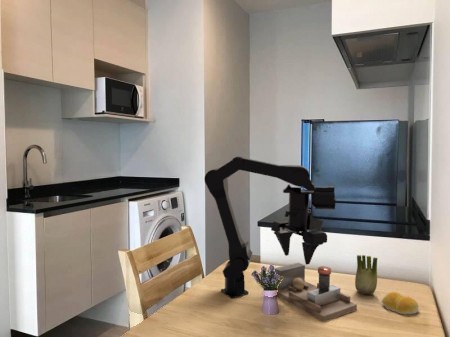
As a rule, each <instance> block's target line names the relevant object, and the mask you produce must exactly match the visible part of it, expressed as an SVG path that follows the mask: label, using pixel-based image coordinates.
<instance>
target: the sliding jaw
mask: <svg viewBox="0 0 450 337" xmlns="http://www.w3.org/2000/svg"><path fill="white" fill-rule="evenodd" d="M317 273H318V283H319V289H316V290H312V291H309V292H307V300H309V301H311V302H313V303H315V304H317V305H319V306H320V305H323V304H326V303H329V302H332V301H335V300H338V299H340V292H341V287H339V286H337V285H335V284H331V283H330V282H331V281H330V280H331V278H330V277H331V276H330V275H331V274H332V268H331V267H329V266H318V267H317Z"/></svg>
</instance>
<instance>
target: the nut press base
mask: <svg viewBox="0 0 450 337" xmlns="http://www.w3.org/2000/svg"><path fill="white" fill-rule="evenodd" d="M274 270H275V272H276V274H278V275H280V276H283V277H284V279H283V280H282V281H281V283H280V284H279V286H278V292H277V296H276V297H278V298H279V299H281V300H283V301H285V302H287V303H289V304H291V305H292V306H294V307H295V308H297V309H299V310H301V311H303V312H305V313H307V314H308V315H310V316H312V317H314V318H316V319H318V321H319V320H320V321H321V322H323V323H324V322H327V321H330V320H332V319H336V318H338V317H341V316H344V315H347V314H349V313H352V312H354V311H357V310H358V309H357V308H358V305H357V304H356V303H355V302H352V301H351V296H349V295H347V294H345V293H343V292H341V291H340V299H338V300H335V301H332V302H329V303H326V304H323V305H320V306H319V305H317V304H315V303H313V302H311V301H309V300H307V292H309V291H312V290H316V289H319V282H318V283H316V285H314V284H312V283H310V282H308V281H306V278H305V276H306V264H303V263H301V262H296V263H291V264H287V265H283V266H278V267H275V268H274ZM274 270H273V271H274ZM295 278H301V279H302V280H303V281H304V287H303V289H301V290H297V289H295V288H294V287H293V280H294V279H295Z"/></svg>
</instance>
